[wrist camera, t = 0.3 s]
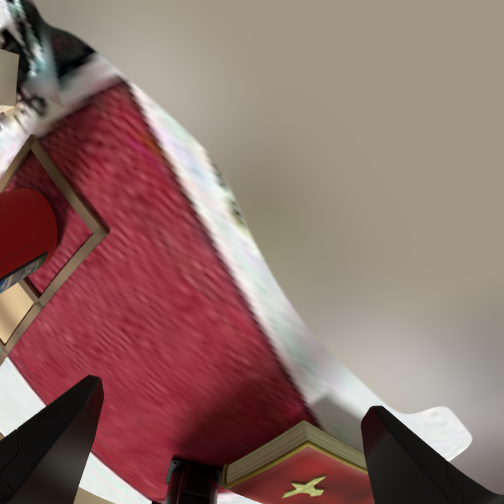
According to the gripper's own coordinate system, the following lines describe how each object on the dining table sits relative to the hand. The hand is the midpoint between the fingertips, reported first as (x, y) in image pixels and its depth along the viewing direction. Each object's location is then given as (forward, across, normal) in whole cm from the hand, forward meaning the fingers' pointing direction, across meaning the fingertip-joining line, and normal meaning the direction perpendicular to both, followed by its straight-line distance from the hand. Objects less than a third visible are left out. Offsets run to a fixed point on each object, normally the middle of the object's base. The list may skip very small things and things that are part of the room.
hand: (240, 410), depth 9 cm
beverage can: (+16, +17, +2) cm, 23 cm away
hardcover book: (+12, -15, +26) cm, 32 cm away
